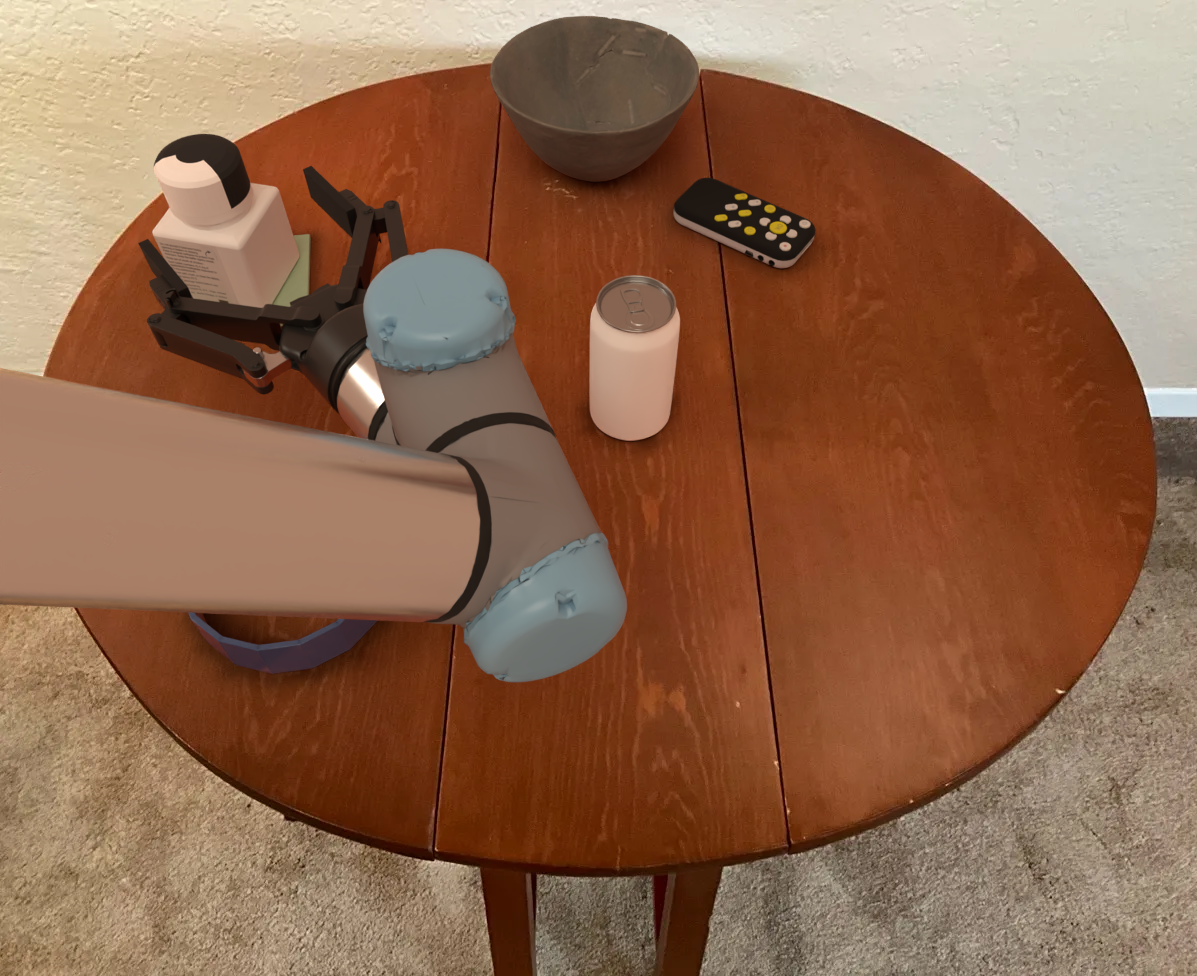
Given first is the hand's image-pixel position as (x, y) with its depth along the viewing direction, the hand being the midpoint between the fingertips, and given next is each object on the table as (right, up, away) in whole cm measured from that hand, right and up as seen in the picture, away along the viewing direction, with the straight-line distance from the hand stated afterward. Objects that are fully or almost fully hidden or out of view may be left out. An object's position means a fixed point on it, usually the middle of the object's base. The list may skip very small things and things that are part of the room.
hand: (232, 216), depth 74 cm
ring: (+7, -28, -6) cm, 29 cm away
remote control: (+42, +3, +16) cm, 44 cm away
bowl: (+28, +11, +21) cm, 37 cm away
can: (+31, -15, +3) cm, 34 cm away
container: (-3, -3, +11) cm, 11 cm away
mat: (-3, -3, +11) cm, 12 cm away
